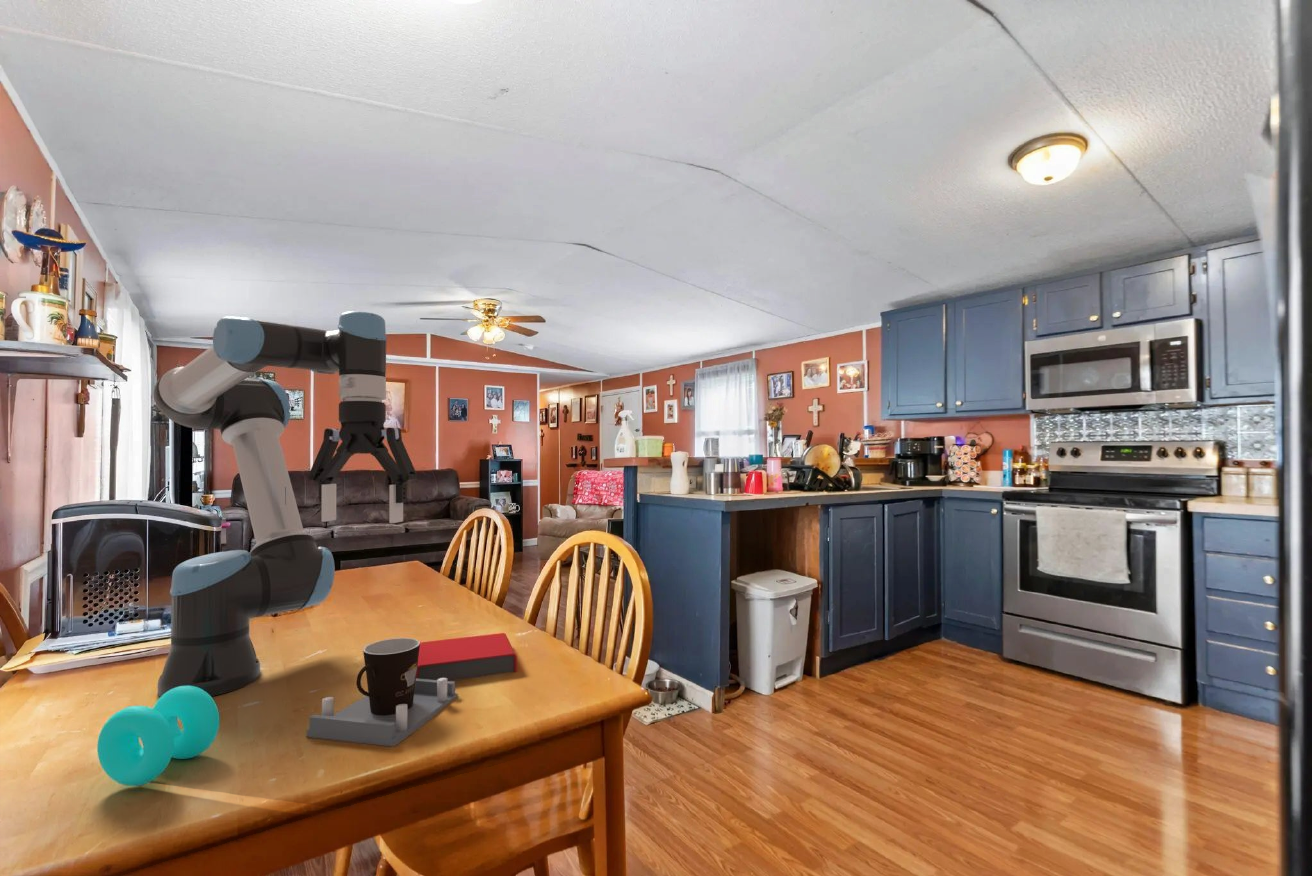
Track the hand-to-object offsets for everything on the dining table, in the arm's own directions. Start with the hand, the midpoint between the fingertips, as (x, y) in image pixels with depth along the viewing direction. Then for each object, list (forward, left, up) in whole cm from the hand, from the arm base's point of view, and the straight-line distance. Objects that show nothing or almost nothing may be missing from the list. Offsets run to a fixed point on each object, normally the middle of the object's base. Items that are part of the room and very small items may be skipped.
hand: (362, 521), depth 108 cm
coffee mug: (+9, -6, -30) cm, 32 cm away
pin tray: (+9, -6, -31) cm, 33 cm away
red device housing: (+11, +15, -31) cm, 37 cm away
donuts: (-10, -27, -31) cm, 42 cm away
